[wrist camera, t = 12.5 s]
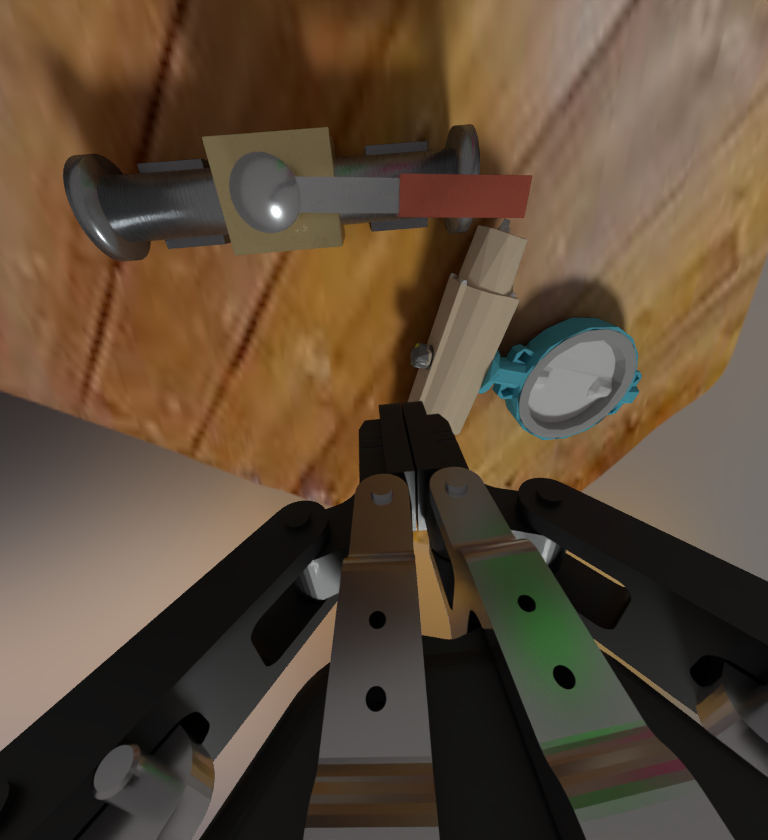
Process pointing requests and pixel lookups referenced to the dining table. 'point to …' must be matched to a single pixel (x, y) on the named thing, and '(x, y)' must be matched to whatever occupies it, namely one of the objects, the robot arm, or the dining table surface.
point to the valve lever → (367, 194)
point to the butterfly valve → (518, 352)
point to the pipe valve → (211, 202)
